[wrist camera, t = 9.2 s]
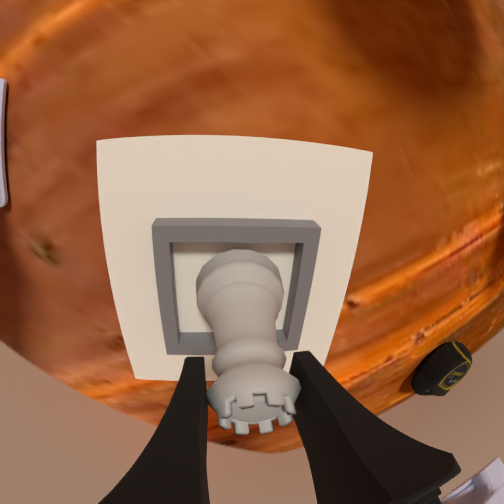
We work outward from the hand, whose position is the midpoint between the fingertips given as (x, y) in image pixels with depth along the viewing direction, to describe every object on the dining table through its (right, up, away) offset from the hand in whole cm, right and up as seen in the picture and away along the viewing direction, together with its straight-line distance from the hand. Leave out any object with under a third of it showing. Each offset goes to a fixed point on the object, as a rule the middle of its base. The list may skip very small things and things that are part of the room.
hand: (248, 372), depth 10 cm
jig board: (-1, +3, +6) cm, 7 cm away
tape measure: (+21, -8, +15) cm, 27 cm away
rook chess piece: (-1, +3, +5) cm, 6 cm away
